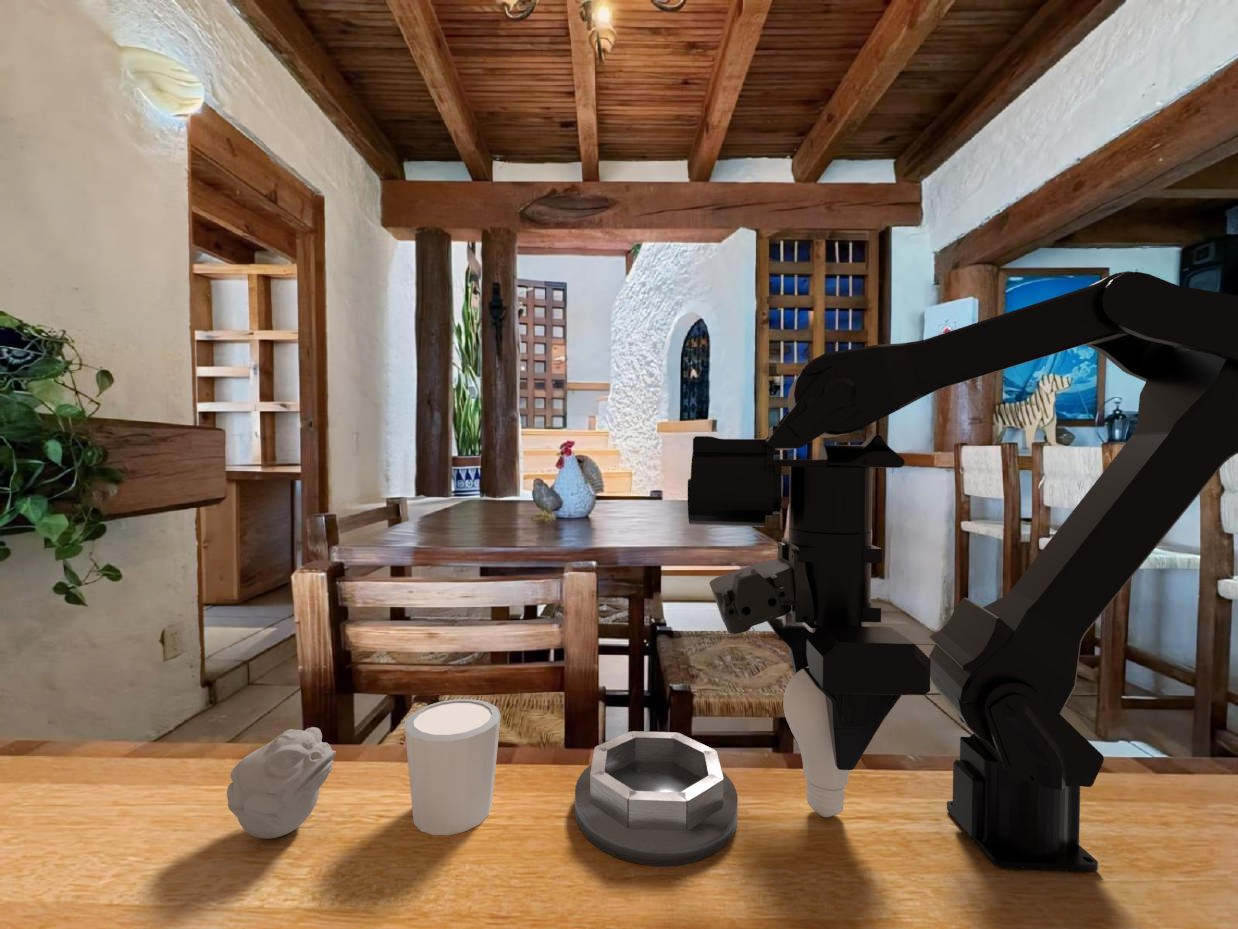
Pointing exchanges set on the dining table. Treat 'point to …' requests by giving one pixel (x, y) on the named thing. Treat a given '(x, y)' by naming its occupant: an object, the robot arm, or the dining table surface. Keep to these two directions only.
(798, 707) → the lightbulb
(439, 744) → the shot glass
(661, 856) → the socket base
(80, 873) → the dining table surface
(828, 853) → the dining table surface
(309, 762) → the frog figurine
